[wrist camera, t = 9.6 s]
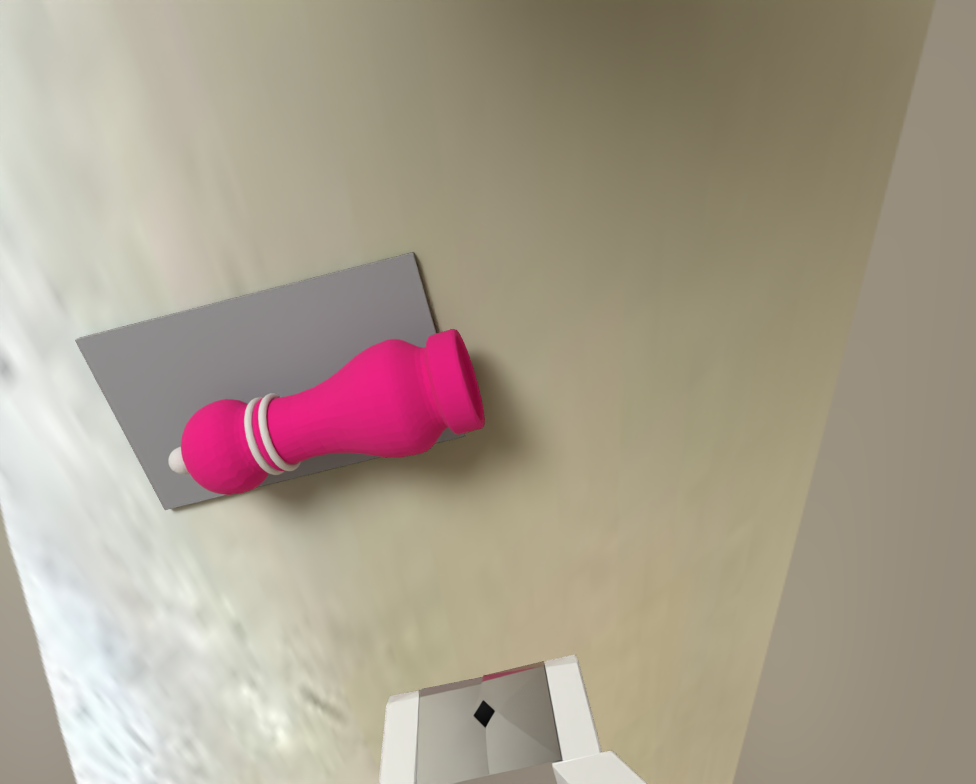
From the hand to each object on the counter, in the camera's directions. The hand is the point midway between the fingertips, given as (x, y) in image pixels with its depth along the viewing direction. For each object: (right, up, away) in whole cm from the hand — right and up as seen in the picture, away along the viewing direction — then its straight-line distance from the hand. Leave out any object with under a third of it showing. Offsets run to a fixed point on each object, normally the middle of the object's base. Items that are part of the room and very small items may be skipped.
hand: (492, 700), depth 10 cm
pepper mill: (-1, +6, +27) cm, 28 cm away
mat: (-14, +5, +31) cm, 35 cm away
